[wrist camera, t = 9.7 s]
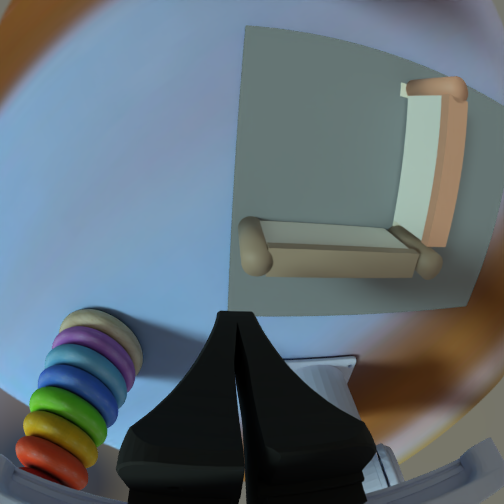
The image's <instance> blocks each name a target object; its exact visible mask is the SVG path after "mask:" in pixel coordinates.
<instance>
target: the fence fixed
mask: <svg viewBox="0 0 504 504" xmlns="http://www.w3.org/2000/svg"><path fill="white" fill-rule="evenodd" d="M238 235H239V246H240V256H241V265H242V268H243V270H244V271H245V272H246V273H247V274H248V275H251V276H256V277H258V276H263V275H266V277H306V278H412V276H413V273H414V270H415V271H416V272H417V273H418V274H419V275H420V276H421V277H422V278H424V279H425V280H430V279H433V278H434V277H436V276H437V275H438V273H439V272H440V270H441V268H442V265H443V259H442V257H441V256H440V255H439V254H438V253H437V252H435V251H434V250H433V249H432V248H430V247H427V246H425V245H424V244H423V243H421V240H420V239H419V238H417V237H416V236H415V235H413V234H412V233H411V232H409V231H408V230H406V229H405V228H404V227H402V226H400V225H396V226H392V227H390V228H389V229H388V231H387V230H386V229H384V228H374V227H360V226H346V225H331V224H315V223H298V222H279V221H260V220H259V219H258V218H256V217H253V216H248V217H245V218H243V219H242V220H241V221H240V222H239V224H238Z"/></svg>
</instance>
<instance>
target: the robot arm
mask: <svg viewBox="0 0 504 504" xmlns="http://www.w3.org/2000/svg"><path fill="white" fill-rule="evenodd" d="M356 361H357V360H356V358H355V357H354V356H348V357H336V358H322V359H305V360H283V358H282V357H281V356H280V355H279V353H278V352H277V351H276V349H275V348H274V347H273V345H272V344H271V342H270V341H269V339H268V338H267V336H266V335H265V333H264V331H263V330H262V328H261V326H260V325H259V323H258V321H257V319H256V317H255V314H254V313H253V312H252V311H219V312H218V313H217V317H216V321H215V324H214V327H213V329H212V332H211V334H210V336H209V338H208V340H207V342H206V344H205V346H204V348H203V349H202V351H201V353H200V354H199V356H198V358H197V359H196V361H195V363H194V364H193V365H192V367H191V368H190V370H189V371H188V372H187V374H186V375H185V376H184V378H183V379H182V380H181V381H180V382H179V384H178V385H177V386H176V387H175V388H174V389H173V391H172V392H171V393H170V394H169V395H168V396H167V397H166V398H165V399H164V400H163V401H161V402H160V403H159V404H158V405H157V406H156V407H155V408H154V409H153V410H152V411H151V412H149V413H148V414H147V415H146V416H144V417H143V418H142V419H140V420H139V421H138V422H136V423H135V424H134V425H132V426H131V427H130V428H129V430H128V432H127V434H126V436H125V438H124V440H123V443H122V445H121V448H120V451H119V455H118V461H117V466H116V471H117V473H118V475H119V476H120V477H121V479H122V480H123V481H124V483H125V484H126V485H127V486H128V488H129V489H130V490H129V496H128V502H122V501H118V500H113V499H109V498H105V497H100V496H96V495H93V494H89V493H86V492H82V491H79V490H75V489H72V488H69V487H66V486H63V485H60V484H57V483H54V482H51V481H49V480H46V479H43V478H41V477H38V476H36V475H33V474H31V473H29V472H26V471H24V470H22V469H19V468H17V467H15V466H14V464H13V463H12V462H11V461H10V460H9V459H7V458H6V457H5V456H3V455H2V454H0V504H238V503H239V499H240V496H241V490H242V484H243V477H244V471H245V481H246V501H247V504H479V503H481V502H483V501H484V500H486V499H487V498H488V497H490V496H491V495H493V494H494V493H496V492H497V491H498V490H500V489H501V488H502V487H504V460H503V458H502V456H501V455H500V453H499V451H498V449H497V448H496V446H495V444H494V442H493V441H492V439H491V438H487V439H485V440H484V441H482V442H480V443H478V444H477V445H474V446H473V447H471V448H470V449H468V450H467V451H466V452H465V453H464V454H463V455H462V456H461V457H460V459H458V460H456V461H453V462H451V463H449V464H447V465H445V466H443V467H440V468H438V469H436V470H433V471H431V472H429V473H426V474H424V475H421V476H418V477H416V478H413V479H411V480H408V481H404V478H403V475H402V472H401V470H400V467H399V465H398V462H397V460H396V458H395V455H394V453H393V451H392V450H391V448H390V447H388V446H385V445H383V444H378V445H375V443H374V440H373V438H372V436H371V434H370V432H369V430H368V428H367V426H366V425H365V423H364V422H363V421H361V418H360V416H359V413H358V411H357V408H356V406H355V403H354V401H353V398H352V395H351V393H350V390H349V388H348V385H347V383H348V381H349V378H350V376H351V374H352V371H353V369H354V366H355V364H356ZM235 378H236V384H235ZM236 385H237V392H238V398H239V404H240V411H241V417H242V426H243V443H244V452H243V444H242V438H241V430H240V423H239V414H238V405H237V395H236ZM376 452H377V455H378V458H377V455H376ZM244 461H245V465H244Z"/></svg>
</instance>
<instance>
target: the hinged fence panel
mask: <svg viewBox="0 0 504 504" xmlns="http://www.w3.org/2000/svg"><path fill="white" fill-rule="evenodd" d="M406 92H407V95H408V107H407V122H406V134H405V145H404V154H403V162H402V170H401V177H400V184H399V191H398V197H397V203H396V209H395V215H394V221H395V222H397V223H398V224H400V225H401V226H402V227H404V228H405V229H406V230H408V231H409V232H411V233H412V234H413V235H415V236H416V237H417V238H419V239H420V240H421V243H423V244H424V245H425V246H427V247H446V243H447V240H448V236H449V232H450V228H451V223H452V219H453V214H454V210H455V205H456V200H457V195H458V189H459V184H460V178H461V171H462V164H463V157H464V148H465V139H466V127H467V112H468V102H467V101H466V100H467V98H468V88H467V85H466V83H465V82H464V80H463V79H461V78H460V77H457V76H455V77H438V78H426V79H416V80H410V81H409V82H408V83H407V85H406Z"/></svg>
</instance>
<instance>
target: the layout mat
mask: <svg viewBox="0 0 504 504" xmlns="http://www.w3.org/2000/svg"><path fill="white" fill-rule="evenodd" d="M438 77H448V76H446V75H444V74H441V73H439V72H437V71H434V70H432V69H430V68H427V67H425V66H422V65H420V64H417V63H415V62H412V61H409V60H407V59H404V58H401V57H398V56H395V55H392V54H389V53H386V52H383V51H380V50H377V49H373V48H370V47H366V46H363V45H359V44H355V43H351V42H347V41H343V40H339V39H335V38H330V37H326V36H321V35H315V34H310V33H304V32H298V31H292V30H285V29H277V28H269V27H259V26H246V27H245V38H244V49H243V61H242V73H241V86H240V99H239V112H238V126H237V141H236V156H235V172H234V189H233V207H232V226H231V246H230V268H229V292H228V311H252V312H253V313H254V314H255V316H331V315H358V314H377V313H394V312H408V311H421V310H432V309H443V308H453V307H462V306H466V305H467V303H468V301H469V298H470V296H471V293H472V291H473V289H474V286H475V283H476V281H477V278H478V276H479V273H480V270H481V267H482V264H483V262H484V259H485V256H486V253H487V250H488V246H489V243H490V240H491V237H492V233H493V230H494V226H495V222H496V219H497V215H498V211H499V207H500V202H501V198H502V193H503V188H504V106H503V105H501V104H499V103H498V102H496V101H494V100H493V99H491V98H489V97H487V96H485V95H484V94H482V93H480V92H478V91H476V90H474V89H473V88H471V87H469V86H467V88H468V98H467V100H466V101H467V102H468V112H467V127H466V139H465V148H464V157H463V164H462V171H461V178H460V184H459V189H458V195H457V200H456V205H455V210H454V214H453V219H452V223H451V228H450V232H449V236H448V240H447V243H446V247H430V248H432V249H433V250H434V251H435V252H437V253H438V254H439V255H440V256H441V257H442V259H443V265H442V268H441V270H440V272H439V273H438V275H437V276H436V277H434V278H433V279H430V280H425V279H424V278H422V277H421V276H420V275H419V274H418V273H417V272H416V271H415V270H414V273H413V276H412V278H306V277H266V275H263V276H258V277H256V276H251V275H248V274H247V273H246V272H245V271H244V270H243V268H242V265H241V256H240V246H239V235H238V224H239V222H240V221H241V220H242V219H243V218H245V217H248V216H253V217H256V218H258V219H259V220H260V221H279V222H298V223H315V224H331V225H346V226H360V227H374V228H384V229H386V230H387V231H388V229H389V228H390V227H392V226H396V225H400V224H398V223H397V222H395V221H394V215H395V209H396V203H397V197H398V191H399V184H400V177H401V170H402V162H403V154H404V145H405V134H406V122H407V107H408V95H407V92H406V85H407V83H408V82H409V81H410V80H416V79H426V78H438ZM400 226H401V225H400Z"/></svg>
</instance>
